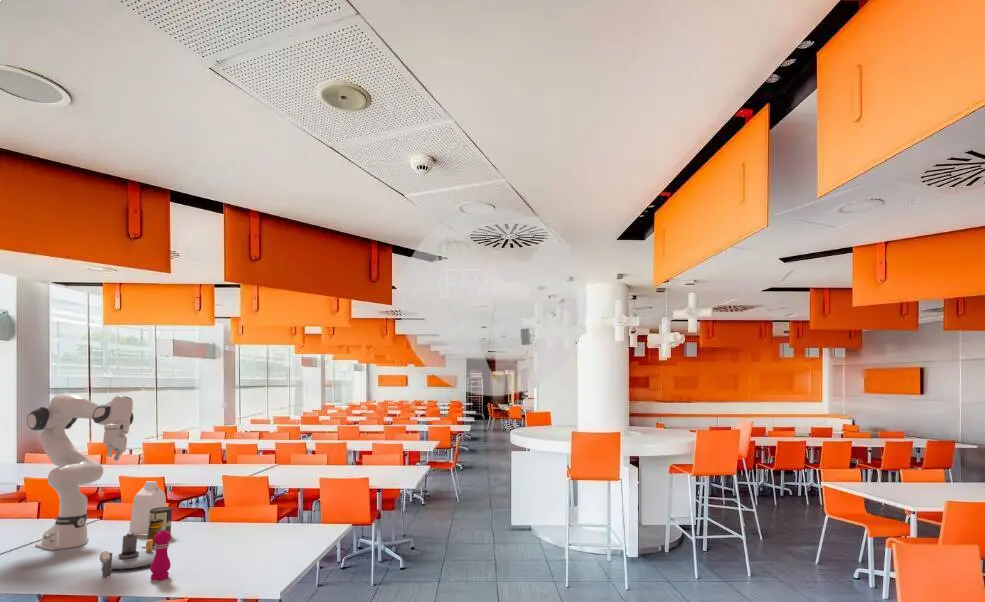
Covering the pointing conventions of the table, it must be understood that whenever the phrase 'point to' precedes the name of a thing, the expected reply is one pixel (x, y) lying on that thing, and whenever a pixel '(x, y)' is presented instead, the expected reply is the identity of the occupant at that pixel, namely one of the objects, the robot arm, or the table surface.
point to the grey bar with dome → (106, 563)
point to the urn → (129, 547)
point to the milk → (145, 507)
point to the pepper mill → (161, 556)
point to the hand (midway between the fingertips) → (112, 458)
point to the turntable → (135, 559)
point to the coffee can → (162, 516)
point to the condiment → (154, 529)
